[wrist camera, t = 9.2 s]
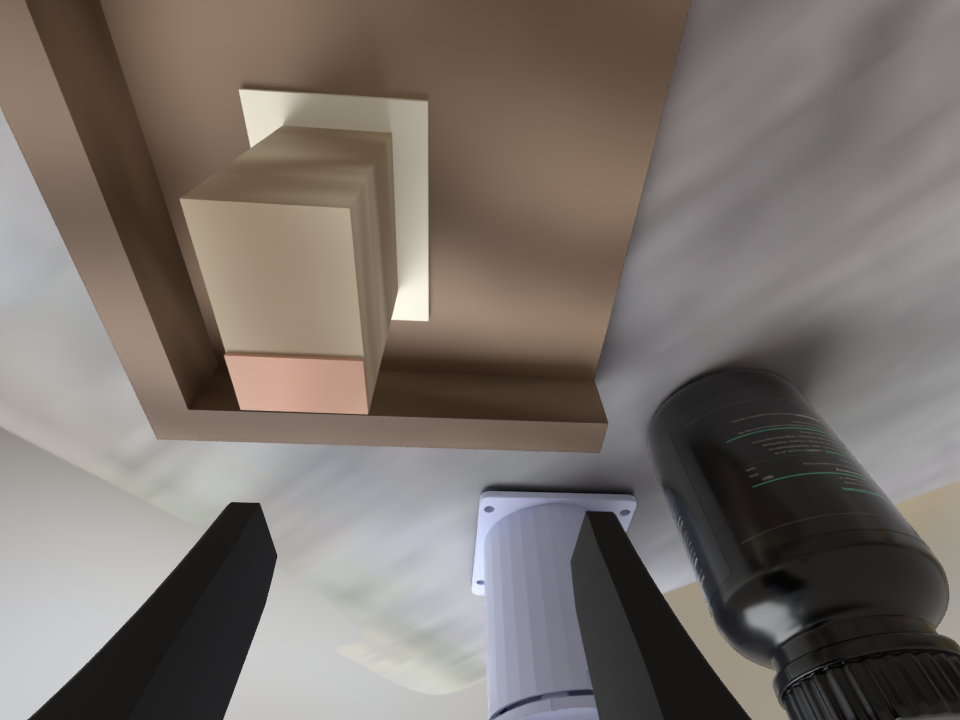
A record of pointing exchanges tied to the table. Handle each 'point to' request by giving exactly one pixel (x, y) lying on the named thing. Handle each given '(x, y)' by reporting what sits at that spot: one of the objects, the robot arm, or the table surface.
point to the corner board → (417, 190)
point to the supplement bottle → (804, 554)
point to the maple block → (301, 266)
